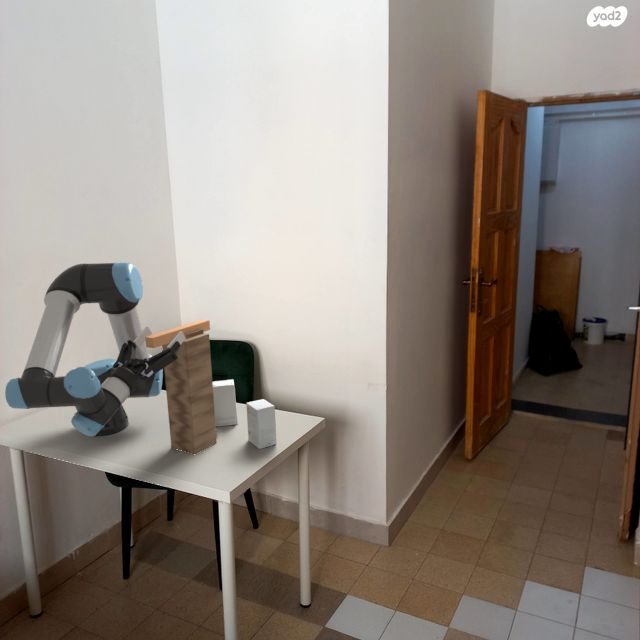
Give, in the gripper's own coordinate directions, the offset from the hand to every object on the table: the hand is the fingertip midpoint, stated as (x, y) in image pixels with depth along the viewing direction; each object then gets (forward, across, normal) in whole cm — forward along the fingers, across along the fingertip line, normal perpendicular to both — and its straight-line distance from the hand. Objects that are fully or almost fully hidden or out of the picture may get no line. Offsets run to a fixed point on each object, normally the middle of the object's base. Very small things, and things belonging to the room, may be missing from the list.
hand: (166, 332), depth 175 cm
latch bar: (+3, 0, -5) cm, 6 cm away
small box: (-2, +18, -44) cm, 48 cm away
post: (-13, 0, -38) cm, 40 cm away
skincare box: (+4, -3, -48) cm, 48 cm away
